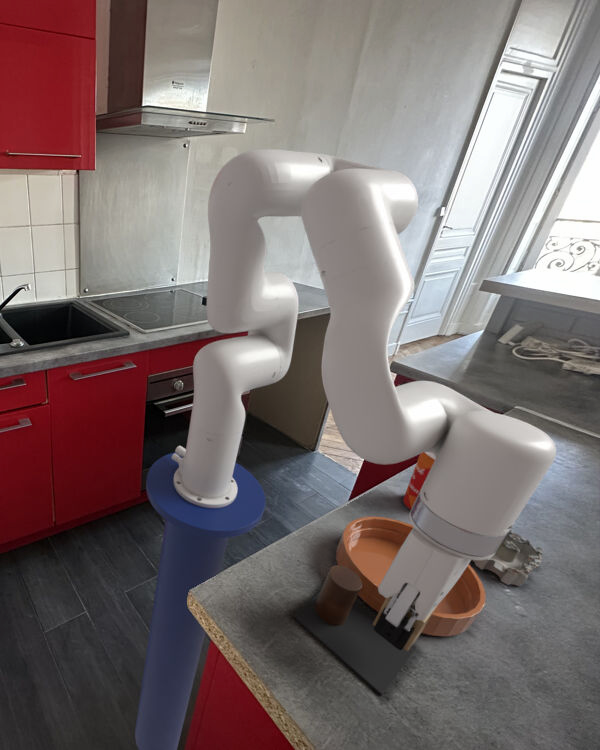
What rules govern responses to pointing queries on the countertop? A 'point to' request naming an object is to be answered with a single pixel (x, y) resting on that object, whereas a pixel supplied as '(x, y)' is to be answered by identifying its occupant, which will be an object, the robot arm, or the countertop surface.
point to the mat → (357, 644)
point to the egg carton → (513, 559)
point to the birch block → (417, 625)
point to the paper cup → (418, 477)
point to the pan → (374, 557)
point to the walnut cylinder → (338, 595)
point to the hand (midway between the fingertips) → (396, 627)
